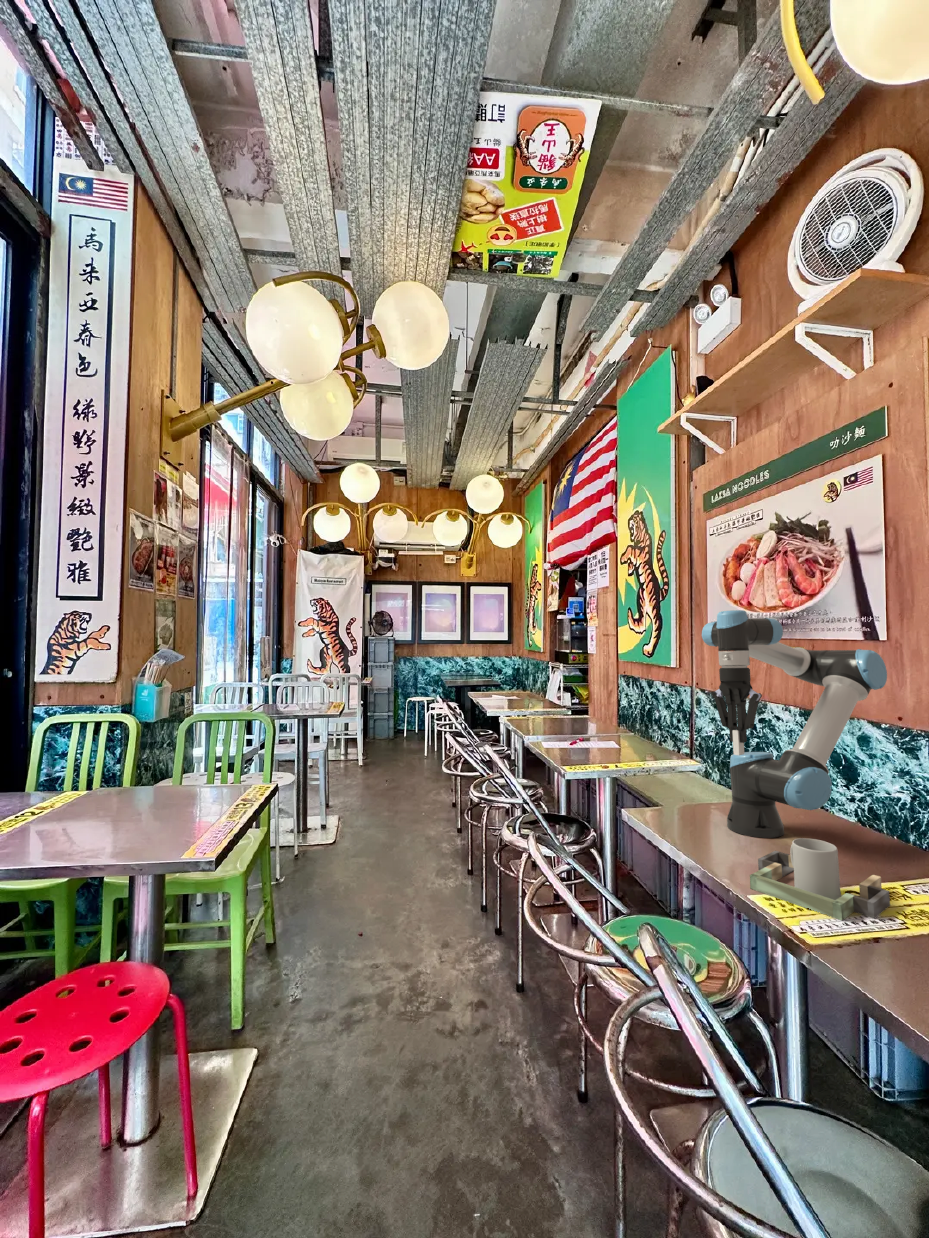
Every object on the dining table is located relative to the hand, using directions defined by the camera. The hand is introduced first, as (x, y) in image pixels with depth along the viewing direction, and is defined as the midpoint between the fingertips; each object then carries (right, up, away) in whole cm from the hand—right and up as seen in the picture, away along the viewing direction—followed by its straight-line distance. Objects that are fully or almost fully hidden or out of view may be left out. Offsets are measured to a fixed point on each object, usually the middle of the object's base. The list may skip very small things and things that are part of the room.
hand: (739, 754), depth 141 cm
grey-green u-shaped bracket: (+5, -25, -23) cm, 34 cm away
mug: (+4, -25, -24) cm, 35 cm away
